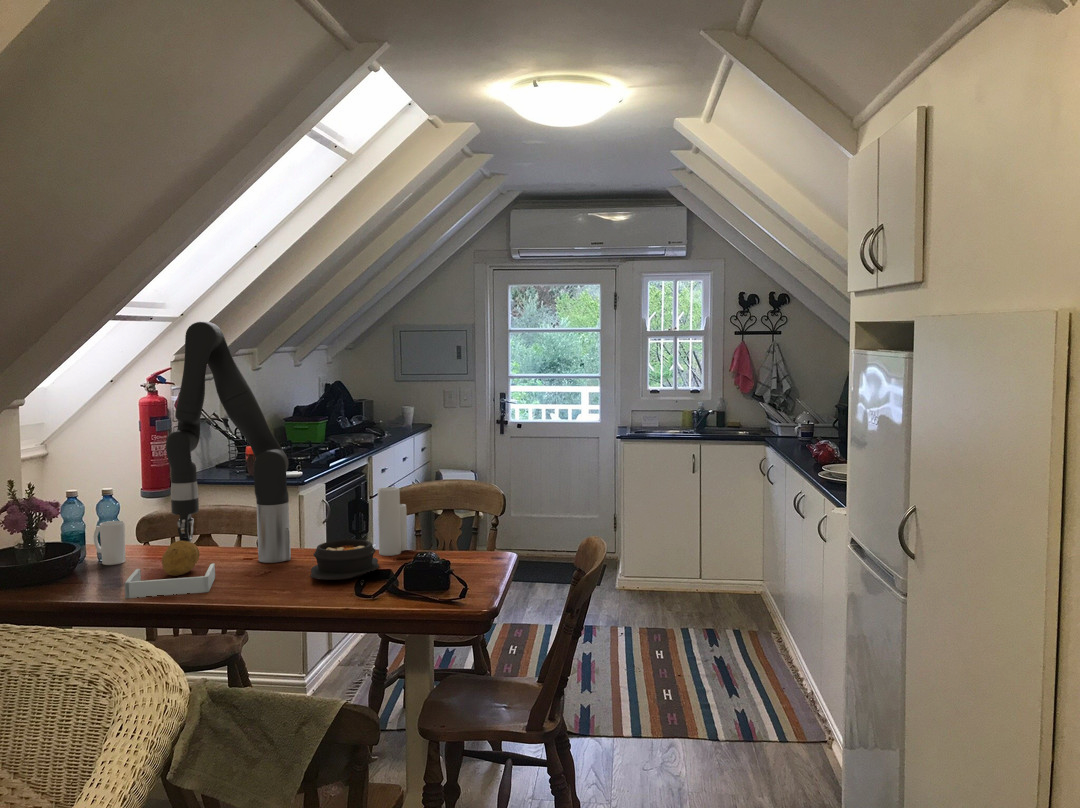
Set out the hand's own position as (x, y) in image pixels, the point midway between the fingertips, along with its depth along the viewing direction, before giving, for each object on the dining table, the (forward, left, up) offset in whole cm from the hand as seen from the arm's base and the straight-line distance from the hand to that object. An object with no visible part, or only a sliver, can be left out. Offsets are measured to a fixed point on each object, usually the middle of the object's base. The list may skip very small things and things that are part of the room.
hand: (187, 554), depth 257 cm
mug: (+23, -9, -3) cm, 25 cm away
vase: (-60, +3, -3) cm, 60 cm away
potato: (0, +12, -3) cm, 13 cm away
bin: (0, +28, -2) cm, 28 cm away
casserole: (-45, +27, -3) cm, 53 cm away
